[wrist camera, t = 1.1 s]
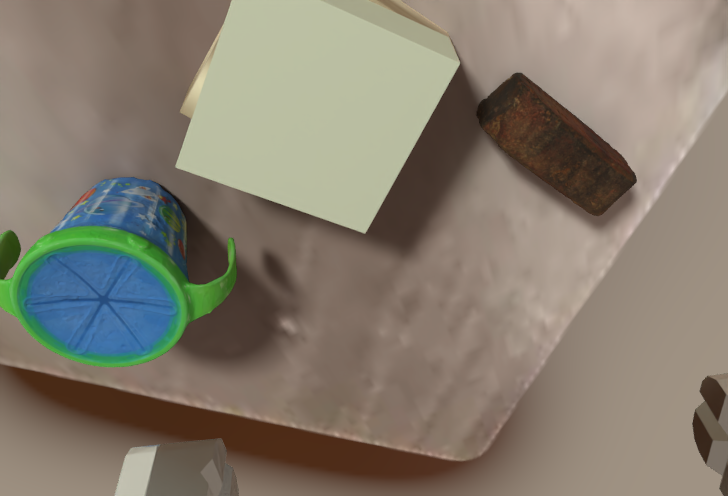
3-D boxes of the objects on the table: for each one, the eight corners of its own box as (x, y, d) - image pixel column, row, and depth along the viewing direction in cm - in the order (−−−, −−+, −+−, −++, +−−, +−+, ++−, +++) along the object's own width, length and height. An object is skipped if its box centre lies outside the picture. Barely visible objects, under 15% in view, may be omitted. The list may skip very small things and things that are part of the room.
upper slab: (250, -54, 36) (243, -35, 32) (449, 37, 39) (460, 62, 36) (186, 135, 42) (175, 167, 39) (362, 199, 45) (365, 233, 42)
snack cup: (250, 169, 48) (236, 257, 40) (237, 283, 54) (223, 380, 46) (15, 136, 45) (-52, 222, 37) (30, 259, 51) (-25, 357, 43)
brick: (618, 147, 48) (643, 180, 45) (576, 186, 50) (597, 221, 46) (512, 62, 44) (530, 91, 40) (471, 108, 46) (484, 140, 42)
